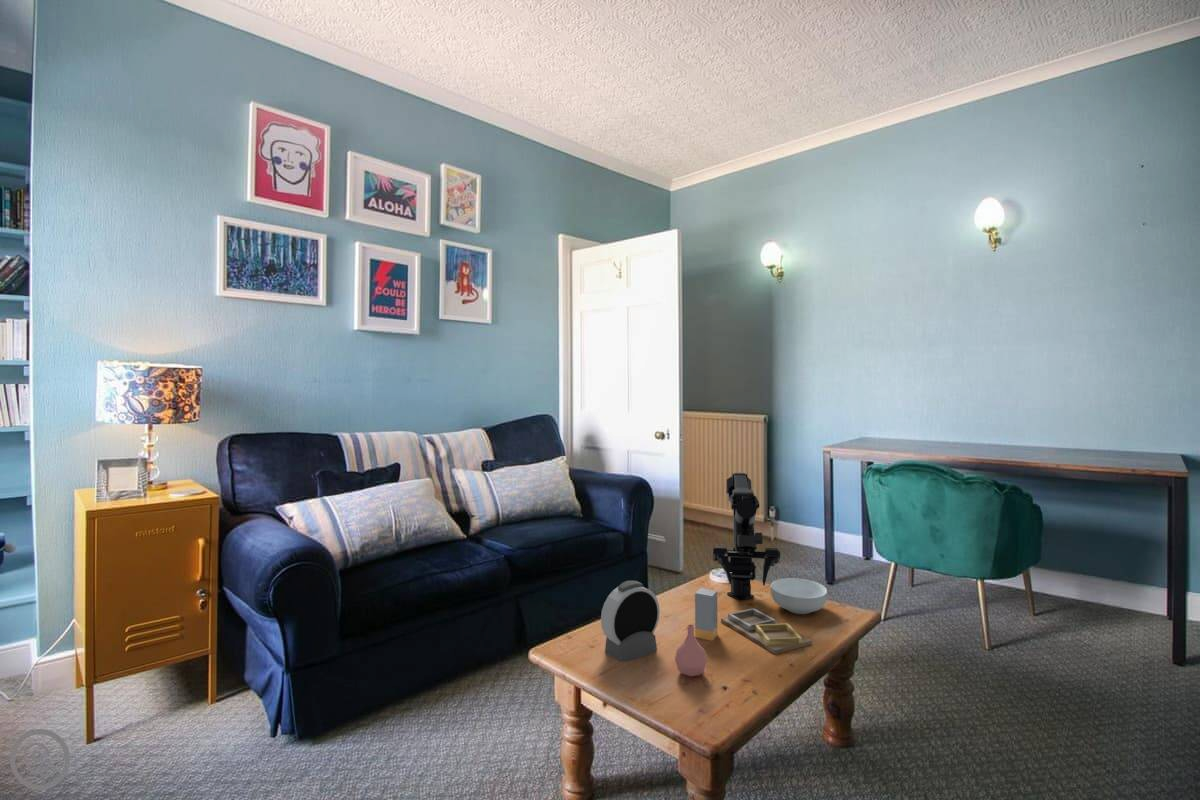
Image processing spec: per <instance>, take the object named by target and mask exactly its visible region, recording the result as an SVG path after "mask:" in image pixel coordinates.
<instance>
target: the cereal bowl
mask: <svg viewBox="0 0 1200 800" xmlns="http://www.w3.org/2000/svg"><path fill="white" fill-rule="evenodd" d="M770 594H771V598H772V599H773V601H774V602H775V603H776V604H777V605H778V606H779V607H781V608H783V609H785V610H786V611H789V612H790V613H792V614H798V615H808V614H810V613H813V612H817V611H818V610H821V609H822V608H823V607H824V606H825V604H826V603H827V600H828V590H827V588H826V587H825V586H824V584H823V585H822V584H821V583H819V582H816V581H813V580H810V579H804V578H798V577H797V578H796V577H795V578H794V577H791V578H790V577H788V578H785V577H784V578H779V579H776V580H774V581H772V582H771V584H770Z"/></svg>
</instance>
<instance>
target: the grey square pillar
mask: <svg viewBox="0 0 1200 800" xmlns="http://www.w3.org/2000/svg"><path fill="white" fill-rule="evenodd" d="M694 620H695V621H694V636H695V638H699V639H703V640H707V641H713V640H715V639H716V637H717V636H718V590H712V589H707V588H703V587H702V588H701V587H700V588H699V589H698V590H696V592H695V593H694Z"/></svg>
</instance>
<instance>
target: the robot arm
mask: <svg viewBox="0 0 1200 800" xmlns="http://www.w3.org/2000/svg"><path fill="white" fill-rule="evenodd" d="M725 493H726V494H727V498H728V499H727V500H728V501H729V503H730V509H731V510H732V517H733V518H732V519H733V520H732V521H733V549H732V550H729V549H728V547H727V546H726V545H725V546H724V545H723V546H722V545H714V546H713V548H712V560H713V562H714V561H715V562H717V564H718V565H721V567H722V569H723V571H724V573H725V575H726V578H727V581H728V584H729V585H730V591H728V592H726V594H727V595H728V596H730V597H732V598H734V599H736V600H738V601H743V600H746V599H751V598H754V597H755V595H754V594H752V584H751V581H754V580H755V579H756V574H757V573H756V572H757V565H755V562H754V561H753V559H761V560H762V559H763V560H764V561H763V565H762V567H763V568H762V569H763V570H762V586H764V587H765V585H766V580H767V577H768V573H769V571H770V568H771V567H774V566H775V565H776V564H779V562H780V559H781V551H780V549H779V548H778V547H777V548H776V547H774V548H773V547H765V548H764V551H757V545H762V544H763V542H764V541H763V532H756V531H755V520H756V514H757V511H758V510H759V509H760V501H759V499H758V497H757V495H755V493H754V490H753V489H752V479H750V478H749V477H748V473H745V472H734V473H732V474H731V476H730V477H729V478H727V479H726V482H725Z"/></svg>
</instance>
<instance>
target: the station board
mask: <svg viewBox="0 0 1200 800" xmlns="http://www.w3.org/2000/svg"><path fill="white" fill-rule="evenodd" d="M720 622H721V623H722V624H724V625H726V626H727V627H729V628H730V629H732V630H734V631H736V632H737V633H739V634H740V635H743V636H744V637H745V638H747V639H748V640H751V641H752V642H754V643H755V644H757V645H759V646H760V647H762V648H764V649H765V650H767V651H769V652H771V653H772V654H774V655H777V654H780V653H783V652H788V651H792V650H796V649H798V648H803V647H806V646H810V645H812V644H813V641H812V639H809V638H808V637H806V636H804V635H803V634H800V633H798V632H797V631H796V630H795V629H794V628H793V626H791V625H790V624H789V623H787V622H786V623H785V622H784V623H783V622H782V623H780V622H777V620H776V619H775V618H773V617H772V616H769V615H768V614H766V613H764V612H761V611H760V610H758V609H756V608H754V607H753V608H748V609H743V610H740V611H734V612H730V613H728V614H727V616H726V617H725V616H724V617H722V618H720Z"/></svg>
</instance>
